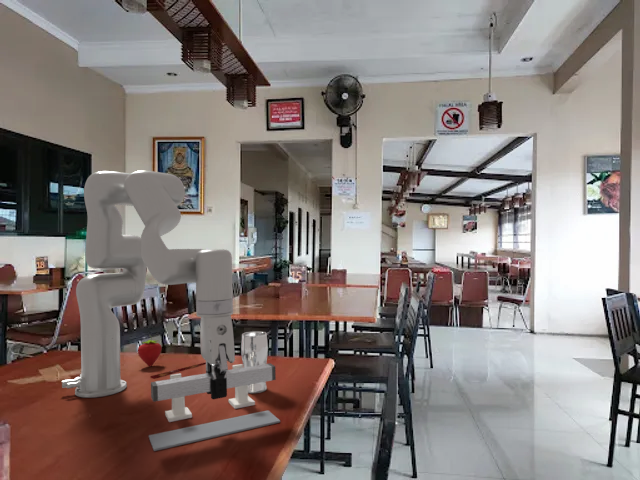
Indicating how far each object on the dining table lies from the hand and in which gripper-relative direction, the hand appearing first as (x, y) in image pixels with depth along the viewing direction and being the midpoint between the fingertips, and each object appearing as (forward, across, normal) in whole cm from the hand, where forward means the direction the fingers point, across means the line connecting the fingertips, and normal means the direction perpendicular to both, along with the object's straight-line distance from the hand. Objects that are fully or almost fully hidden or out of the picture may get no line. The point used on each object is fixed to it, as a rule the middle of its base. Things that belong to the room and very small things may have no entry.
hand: (216, 394), depth 93 cm
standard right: (+7, +12, -9) cm, 17 cm away
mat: (+7, 0, 0) cm, 7 cm away
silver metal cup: (+8, +20, -16) cm, 27 cm away
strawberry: (+7, +61, +5) cm, 62 cm away
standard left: (+7, +12, +6) cm, 15 cm away
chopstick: (+8, +52, -4) cm, 52 cm away
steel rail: (-1, 0, 0) cm, 1 cm away
